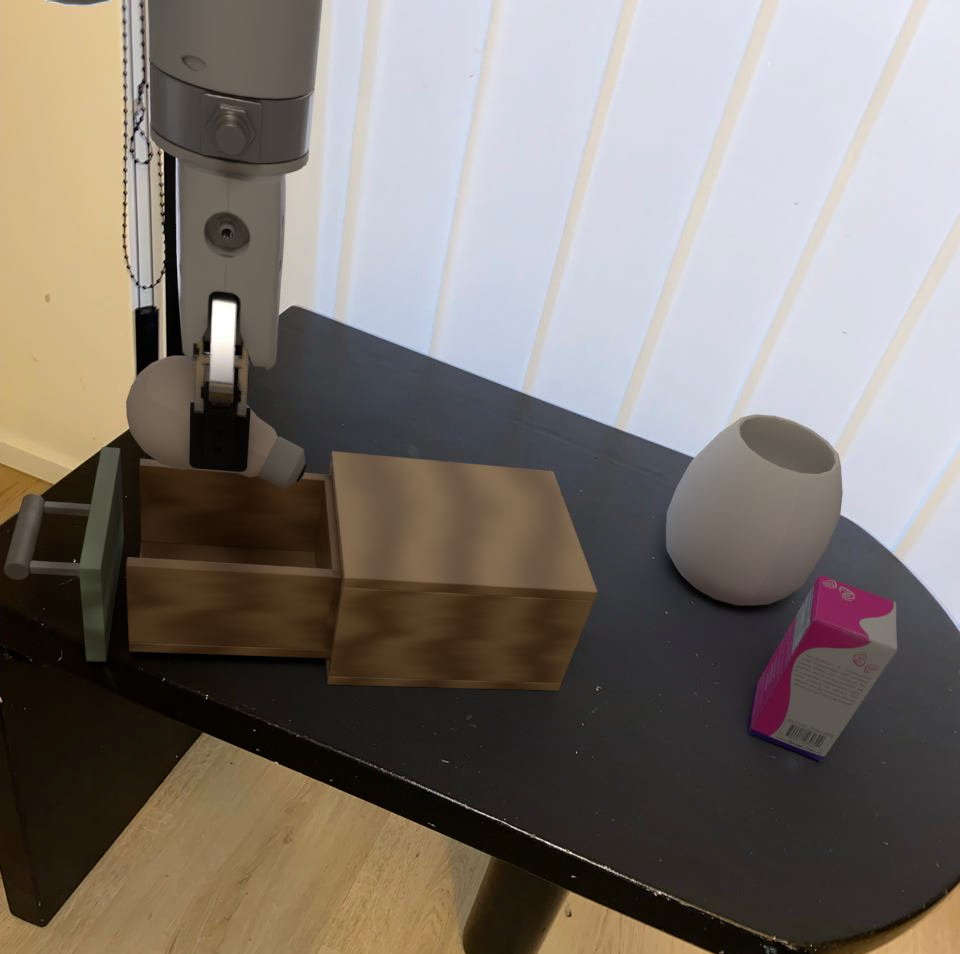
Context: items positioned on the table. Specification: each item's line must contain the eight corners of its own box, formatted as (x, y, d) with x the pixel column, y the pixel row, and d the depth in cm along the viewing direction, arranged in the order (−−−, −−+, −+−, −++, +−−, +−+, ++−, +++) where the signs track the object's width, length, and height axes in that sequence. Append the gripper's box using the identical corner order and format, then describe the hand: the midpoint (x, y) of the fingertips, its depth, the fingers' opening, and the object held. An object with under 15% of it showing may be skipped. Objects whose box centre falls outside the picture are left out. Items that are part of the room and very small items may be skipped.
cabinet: (327, 684, 66) (344, 577, 60) (317, 555, 75) (331, 450, 69) (558, 691, 70) (598, 592, 64) (522, 568, 80) (553, 470, 73)
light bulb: (338, 405, 59) (165, 312, 56) (303, 478, 55) (115, 382, 52) (305, 471, 64) (144, 388, 61) (270, 542, 60) (97, 457, 57)
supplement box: (826, 711, 75) (900, 601, 68) (821, 764, 71) (900, 653, 63) (754, 682, 76) (820, 570, 68) (745, 733, 71) (814, 620, 64)
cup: (773, 538, 91) (840, 413, 82) (812, 636, 82) (893, 506, 73) (639, 516, 89) (692, 385, 80) (663, 614, 79) (726, 478, 70)
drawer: (4, 659, 61) (-11, 562, 55) (35, 533, 69) (24, 439, 64) (332, 669, 66) (346, 582, 61) (323, 551, 74) (334, 466, 69)
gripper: (319, 196, 42) (286, 527, 54) (304, 73, 54) (280, 366, 66) (134, 167, 40) (143, 517, 52) (161, 46, 52) (163, 353, 64)
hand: (219, 430), depth 59 cm, fingers closed on light bulb, 6 cm apart
